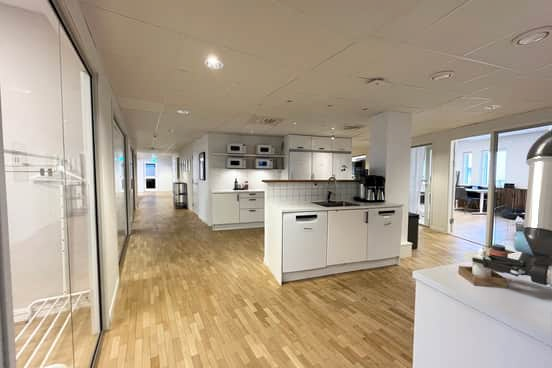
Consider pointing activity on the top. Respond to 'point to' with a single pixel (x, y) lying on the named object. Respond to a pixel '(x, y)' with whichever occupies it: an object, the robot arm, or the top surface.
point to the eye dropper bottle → (478, 268)
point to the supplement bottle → (498, 251)
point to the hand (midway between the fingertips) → (466, 255)
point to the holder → (483, 278)
